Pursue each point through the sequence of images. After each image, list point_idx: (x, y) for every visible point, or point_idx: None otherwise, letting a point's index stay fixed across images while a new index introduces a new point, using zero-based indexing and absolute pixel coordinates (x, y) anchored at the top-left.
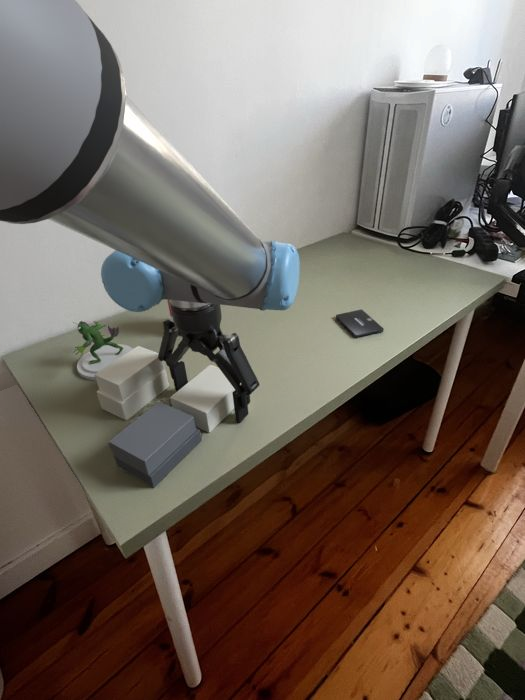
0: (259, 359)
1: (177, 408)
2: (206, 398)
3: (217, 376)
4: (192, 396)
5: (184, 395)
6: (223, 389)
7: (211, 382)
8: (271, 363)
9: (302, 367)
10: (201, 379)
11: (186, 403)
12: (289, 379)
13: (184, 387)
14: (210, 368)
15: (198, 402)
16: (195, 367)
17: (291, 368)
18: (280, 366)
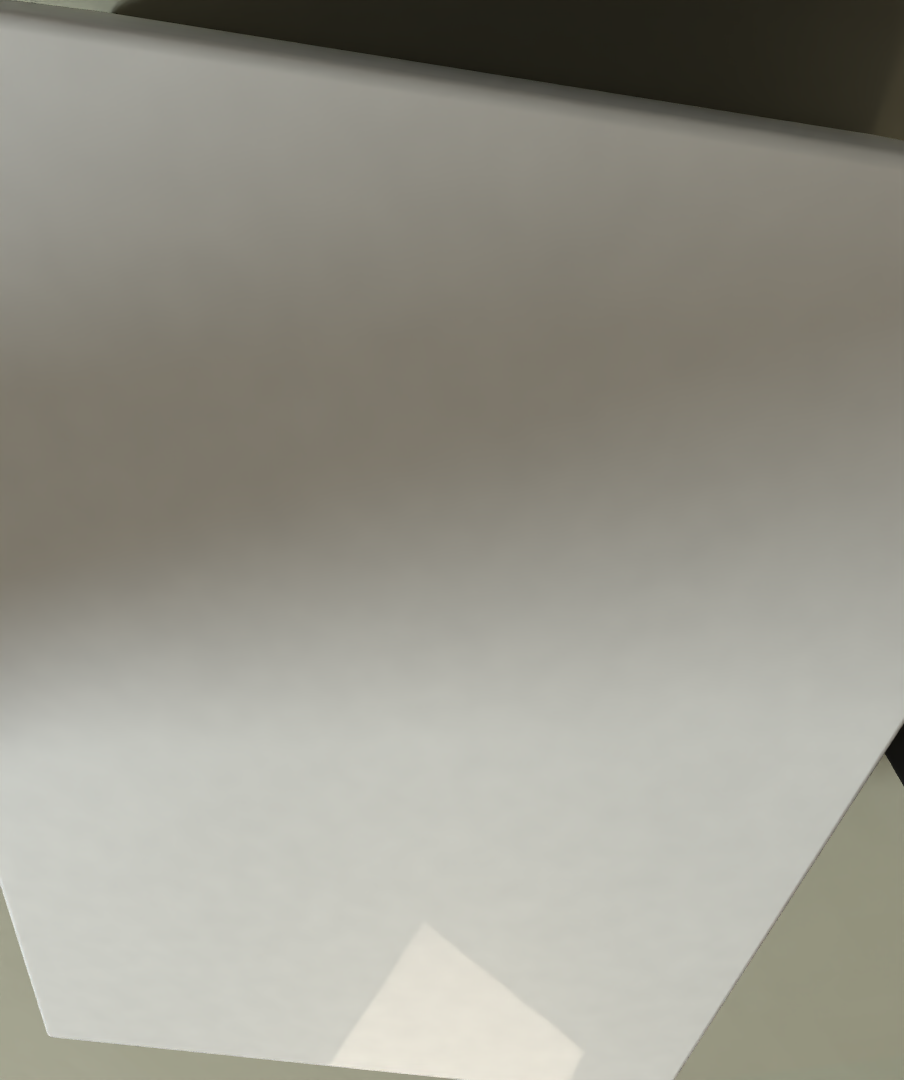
0: (373, 1071)
1: (853, 137)
2: (195, 520)
3: (413, 980)
4: (557, 469)
5: (789, 435)
6: (101, 808)
7: (418, 878)
8: (260, 1059)
9: (28, 1067)
10: (635, 891)
11: (576, 146)
12: (8, 977)
13: (895, 658)
14: (614, 1061)
15: (265, 322)
16: (897, 925)
17: (88, 1050)
18: (176, 1051)
